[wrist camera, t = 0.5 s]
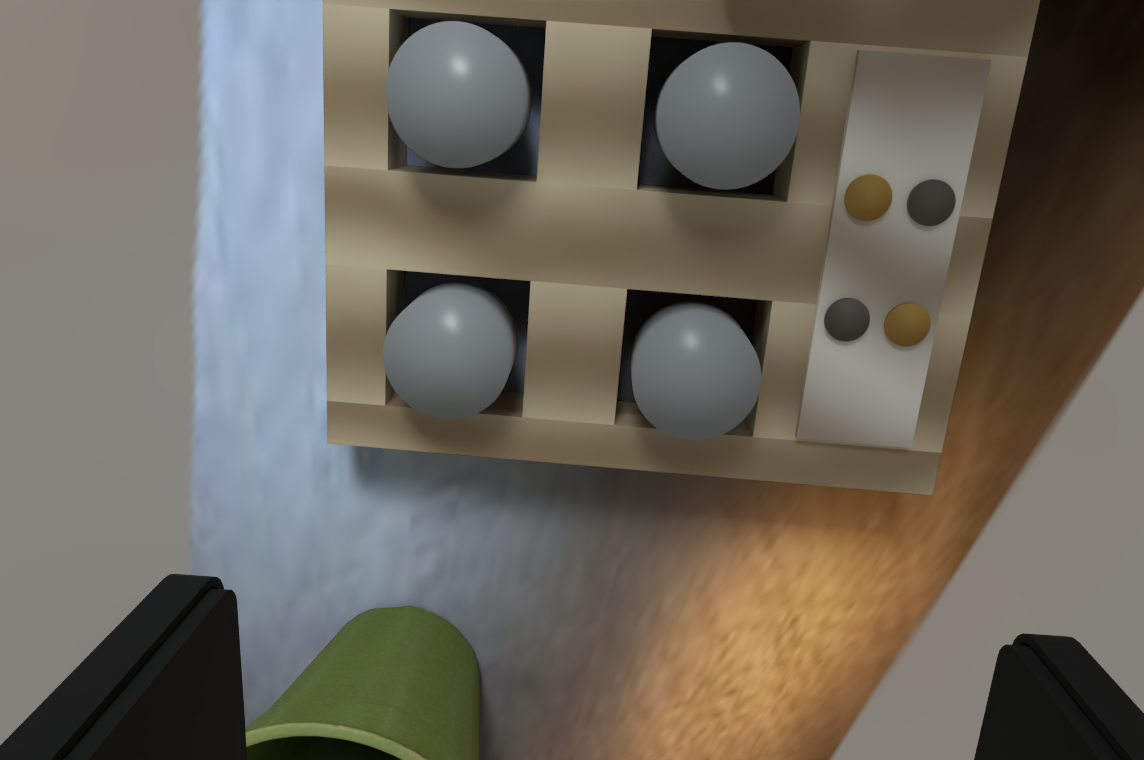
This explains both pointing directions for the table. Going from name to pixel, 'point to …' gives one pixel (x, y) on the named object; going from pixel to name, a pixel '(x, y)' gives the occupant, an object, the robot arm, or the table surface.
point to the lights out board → (689, 232)
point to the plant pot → (379, 695)
